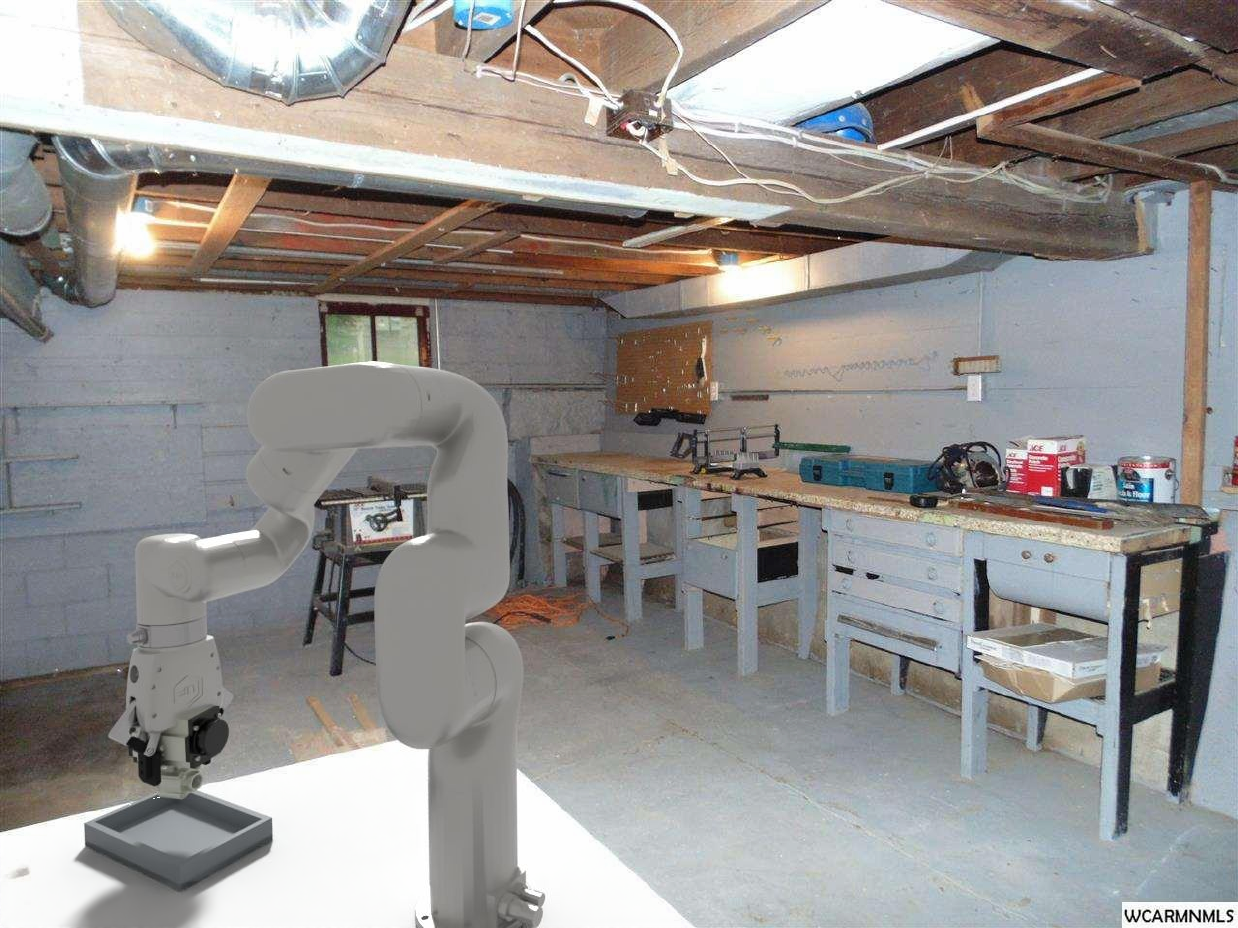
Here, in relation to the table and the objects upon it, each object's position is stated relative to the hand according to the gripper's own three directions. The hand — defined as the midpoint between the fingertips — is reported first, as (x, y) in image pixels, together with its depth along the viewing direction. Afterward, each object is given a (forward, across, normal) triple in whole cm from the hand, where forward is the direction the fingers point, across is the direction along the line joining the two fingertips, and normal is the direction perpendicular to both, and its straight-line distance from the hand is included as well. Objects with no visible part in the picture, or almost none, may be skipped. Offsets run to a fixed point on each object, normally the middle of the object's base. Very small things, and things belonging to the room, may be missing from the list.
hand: (176, 770), depth 95 cm
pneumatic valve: (+3, 0, 0) cm, 3 cm away
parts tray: (+9, 0, 0) cm, 9 cm away
